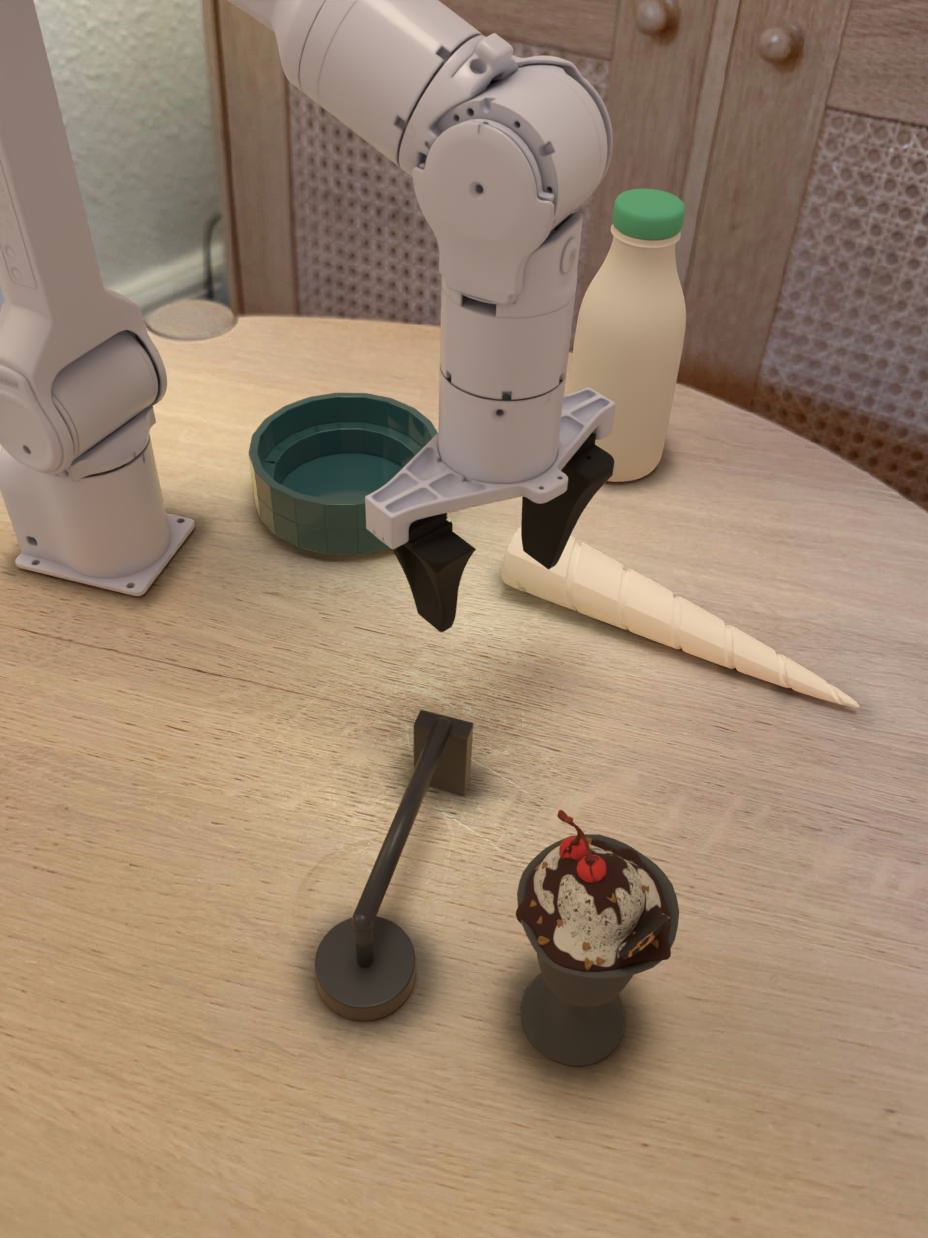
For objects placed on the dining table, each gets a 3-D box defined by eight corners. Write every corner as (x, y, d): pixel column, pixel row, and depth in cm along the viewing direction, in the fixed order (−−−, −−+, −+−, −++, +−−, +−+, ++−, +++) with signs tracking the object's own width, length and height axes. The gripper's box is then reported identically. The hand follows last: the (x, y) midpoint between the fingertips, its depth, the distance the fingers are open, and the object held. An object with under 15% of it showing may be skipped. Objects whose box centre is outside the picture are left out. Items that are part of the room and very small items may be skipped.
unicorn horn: (836, 753, 63) (859, 698, 60) (492, 593, 72) (495, 538, 69) (862, 702, 66) (886, 647, 63) (528, 555, 75) (533, 500, 72)
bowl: (225, 538, 75) (216, 480, 72) (300, 434, 84) (295, 378, 81) (405, 579, 73) (404, 522, 69) (462, 467, 82) (464, 411, 78)
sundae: (493, 955, 53) (513, 769, 43) (627, 946, 54) (679, 761, 43) (508, 1090, 49) (534, 918, 38) (655, 1079, 49) (720, 907, 39)
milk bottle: (666, 487, 81) (719, 229, 67) (563, 483, 81) (595, 224, 67) (655, 427, 86) (701, 178, 72) (558, 424, 86) (586, 173, 72)
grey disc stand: (396, 1034, 50) (394, 978, 47) (300, 1004, 51) (291, 946, 47) (485, 783, 61) (490, 720, 57) (405, 762, 62) (404, 698, 58)
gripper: (437, 469, 43) (433, 695, 52) (677, 350, 50) (635, 569, 59) (331, 392, 47) (345, 617, 56) (568, 291, 54) (545, 506, 63)
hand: (488, 587), depth 58 cm, fingers open, 7 cm apart
